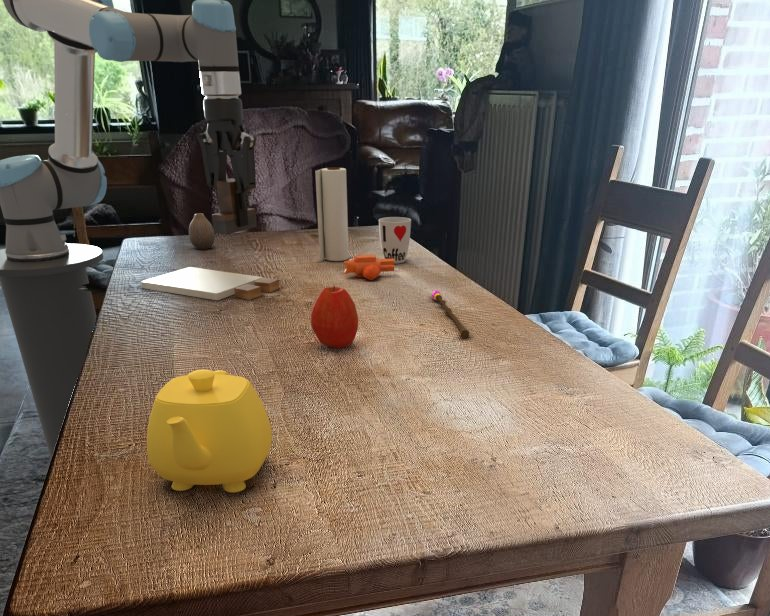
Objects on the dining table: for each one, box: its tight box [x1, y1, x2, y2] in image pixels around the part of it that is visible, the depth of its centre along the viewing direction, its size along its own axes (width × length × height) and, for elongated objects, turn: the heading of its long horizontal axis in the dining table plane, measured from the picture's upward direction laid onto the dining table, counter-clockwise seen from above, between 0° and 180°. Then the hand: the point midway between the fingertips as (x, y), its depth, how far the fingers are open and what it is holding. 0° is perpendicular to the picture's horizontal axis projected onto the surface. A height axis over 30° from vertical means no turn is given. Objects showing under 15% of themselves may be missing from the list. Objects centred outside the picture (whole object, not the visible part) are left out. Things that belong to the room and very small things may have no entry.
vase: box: [188, 212, 216, 250], centre depth 194 cm, size 7×7×9 cm
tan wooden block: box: [254, 277, 280, 293], centre depth 158 cm, size 4×4×2 cm
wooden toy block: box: [211, 177, 258, 236], centre depth 149 cm, size 4×10×10 cm, turn 151°
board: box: [140, 266, 264, 302], centre depth 161 cm, size 22×16×2 cm
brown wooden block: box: [234, 284, 262, 301], centre depth 153 cm, size 4×4×2 cm
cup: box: [378, 216, 412, 265], centre depth 178 cm, size 8×8×10 cm
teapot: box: [146, 369, 273, 493], centre depth 81 cm, size 14×20×13 cm
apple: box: [310, 284, 359, 349], centre depth 122 cm, size 8×8×11 cm
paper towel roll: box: [314, 166, 350, 262], centre depth 178 cm, size 7×6×21 cm
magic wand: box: [431, 290, 470, 340], centre depth 140 cm, size 2×2×30 cm
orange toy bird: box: [343, 254, 396, 281], centre depth 165 cm, size 5×8×12 cm
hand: (235, 224), depth 151 cm, fingers closed on wooden toy block, 3 cm apart
